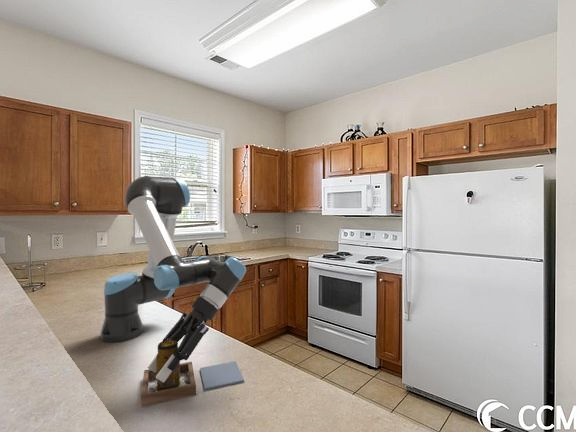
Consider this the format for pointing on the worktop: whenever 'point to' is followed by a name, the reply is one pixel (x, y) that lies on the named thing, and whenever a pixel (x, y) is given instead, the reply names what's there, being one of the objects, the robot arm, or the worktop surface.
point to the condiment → (163, 355)
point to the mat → (221, 375)
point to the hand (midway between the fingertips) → (155, 374)
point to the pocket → (168, 393)
